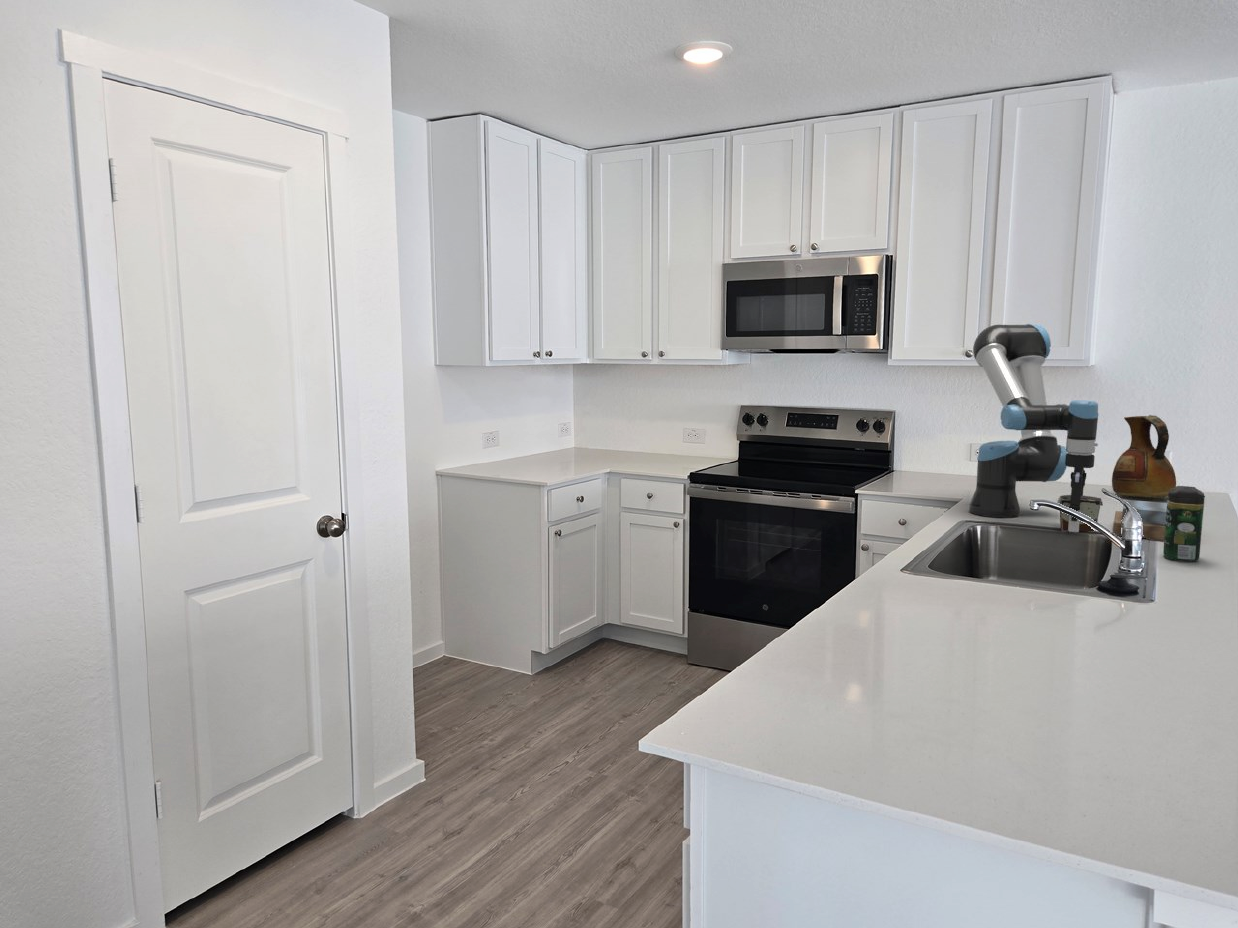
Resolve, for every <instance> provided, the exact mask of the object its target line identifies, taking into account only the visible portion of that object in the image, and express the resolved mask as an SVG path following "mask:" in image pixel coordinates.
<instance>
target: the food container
mask: <svg viewBox="0 0 1238 928" xmlns="http://www.w3.org/2000/svg"><path fill="white" fill-rule="evenodd" d="M1070 501H1071V494H1064V495H1063V494H1062V495H1060V496H1059V498H1058V499H1057V503H1060V504H1062V505H1064V506H1066V507H1069V506H1070ZM1057 503H1056V504H1057ZM1060 504H1059V505H1060ZM1073 505H1074V504H1073ZM1103 505H1104V504H1103V500H1102V498H1101V497H1097V496H1092V495H1091V496H1090V495H1083V496H1082V495H1081V501H1080V512H1081V513H1083V514H1085V515H1087V516H1089V517H1091V519H1093V520H1094V521H1096V522H1097V523H1098V520H1099V515H1100V510H1101V506H1103ZM1059 521H1060V522H1059V523H1060V524H1059V525H1060V532H1064V533H1065V532H1066V533H1067V531H1068V526H1069V515H1067V514H1065V513H1062V512H1061V511H1060V510H1059ZM1079 531H1094V530H1093V529H1091V527H1090V526H1088V525H1087V524H1085V523H1083V522H1081V521H1079Z"/></svg>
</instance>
